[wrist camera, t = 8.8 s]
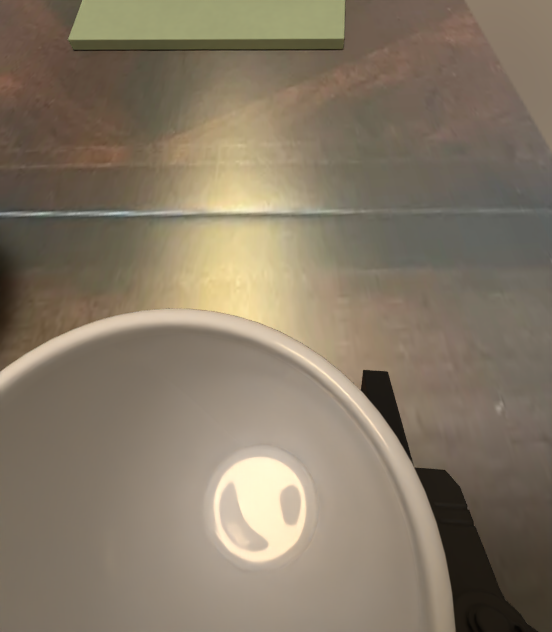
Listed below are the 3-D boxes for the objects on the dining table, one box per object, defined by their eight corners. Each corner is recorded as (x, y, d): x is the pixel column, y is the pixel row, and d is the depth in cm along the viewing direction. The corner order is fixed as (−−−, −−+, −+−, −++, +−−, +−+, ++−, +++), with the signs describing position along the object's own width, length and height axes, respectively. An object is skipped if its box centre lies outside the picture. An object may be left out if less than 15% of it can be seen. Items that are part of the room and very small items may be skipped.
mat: (345, -32, 32) (346, -43, 31) (343, 49, 29) (344, 38, 28) (101, -27, 34) (96, -38, 33) (73, 50, 31) (67, 39, 30)
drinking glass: (235, 399, 20) (80, 226, 6) (365, 468, 19) (554, 449, 5) (160, 538, 18) (-331, 755, 4) (298, 626, 17) (271, 1444, 3)
